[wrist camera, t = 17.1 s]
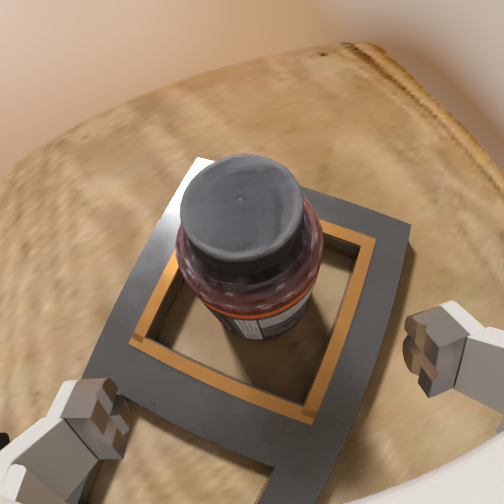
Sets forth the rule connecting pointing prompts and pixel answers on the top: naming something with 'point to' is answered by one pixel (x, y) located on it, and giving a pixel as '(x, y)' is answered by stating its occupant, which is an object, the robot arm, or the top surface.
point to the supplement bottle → (249, 245)
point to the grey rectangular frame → (239, 392)
